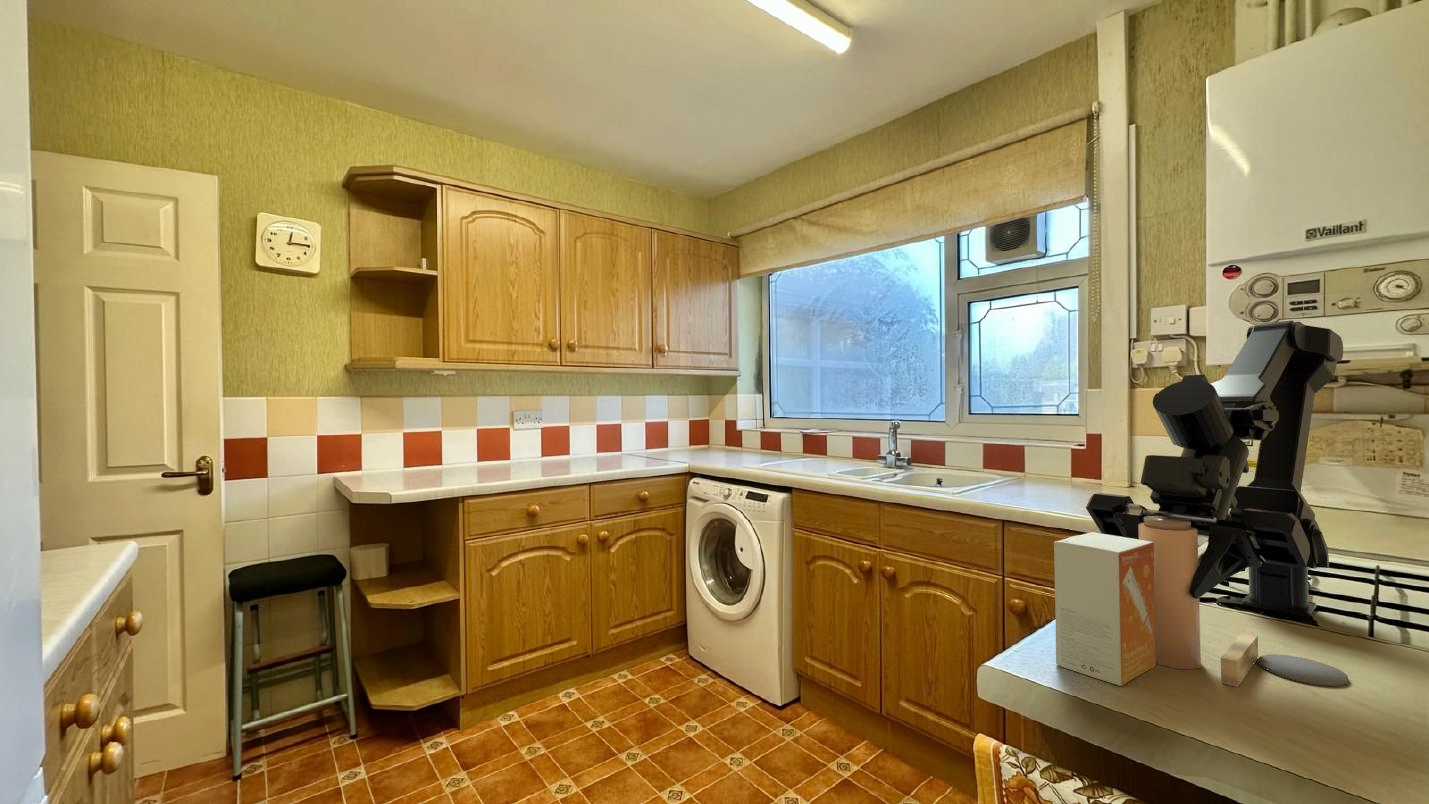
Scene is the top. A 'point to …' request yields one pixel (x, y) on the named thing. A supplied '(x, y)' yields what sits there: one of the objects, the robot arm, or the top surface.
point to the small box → (1105, 606)
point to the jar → (1174, 590)
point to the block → (1239, 659)
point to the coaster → (1303, 670)
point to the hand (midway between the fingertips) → (1162, 589)
